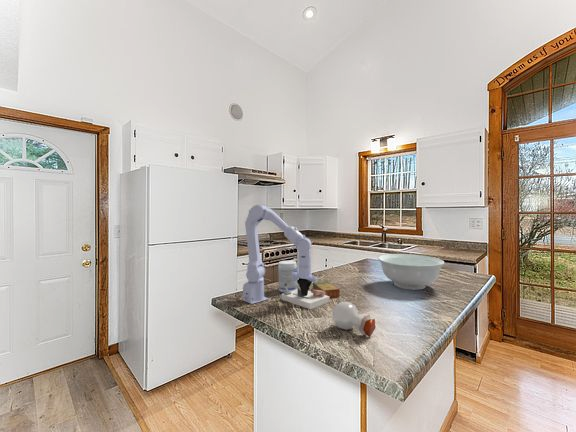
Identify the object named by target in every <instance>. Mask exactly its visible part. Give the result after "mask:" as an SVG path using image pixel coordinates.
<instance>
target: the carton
mask: <svg viewBox="0 0 576 432" xmlns="http://www.w3.org/2000/svg"><path fill="white" fill-rule="evenodd" d="M312 290H321V291H325V292H326V294H325V295H326V296H330V299H333V298H340V294H341V293H340V292H341V291H340V288H338V287H337V286H335V285H334V284H332V283H331V282H329V281H328V280H323V281H318V282H317V283H314V282H312Z"/></svg>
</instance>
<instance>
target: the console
mask: <svg viewBox="0 0 576 432" xmlns="http://www.w3.org/2000/svg"><path fill="white" fill-rule="evenodd" d="M298 289H299V288H297V290H294V291H290V292H282V293H281V300H283V301H285V302H288V303H291V304H293V305H296V306H300V307H302V308H305V309H308V310H311V309H314V308H318V307H320V306H323V305H326V304H328V303H331V302H330V300H331V298H330V296H326V295H324V293H321V295H319V294H314V293H311V290H310V289H309V290H308V294H307V296H302V297H300V296H298Z"/></svg>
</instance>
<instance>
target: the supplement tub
mask: <svg viewBox="0 0 576 432" xmlns="http://www.w3.org/2000/svg"><path fill="white" fill-rule="evenodd" d="M277 269H278V274H277V275H278V291H279V292H281V293H284V292H290V291H294V290H297V289H298V283H297V280H298V278H296V277H292V273H293V272H296V273H298V263H297V261H295V260H281V261H279V262H278V267H277ZM285 283H286V284H287V288H288V291H286V288H285V286H284V284H285Z"/></svg>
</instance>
